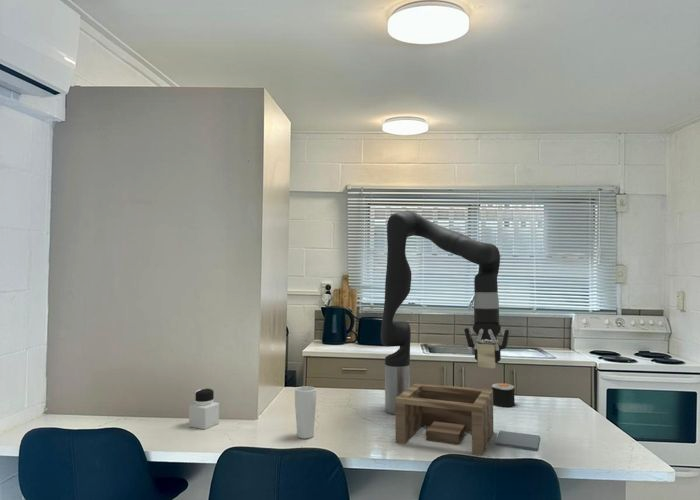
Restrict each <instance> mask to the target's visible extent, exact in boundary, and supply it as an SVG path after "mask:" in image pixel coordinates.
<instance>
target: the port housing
mask: <svg viewBox="0 0 700 500" xmlns="http://www.w3.org/2000/svg"><path fill="white" fill-rule="evenodd" d="M394 415H395V427H394V428H395V443H397V444H401V445H405V444H407V442H409V441H410V439H411V438H412V437H413V436H414V435H415V434H416V433H417V432H418V431H419V430H420V429H421V428H422V427H428V428H427V429H426V430H425V431H426V433H425V435H426V436H425V437H426V438H425V440H426V441H431V442H436V443H442V444H443V443H444V444H452V445H456V446H459V445H460V443H461V442H462V440H463V438H464V437H465V435H466V433H467V432H468V433H471V455H476V456H482V457H483V456H484V454H485V451H486V449H487V447H488V445H489V443H490V441H491V438H492V436H493V434H494V405H493V390H492V389H484V388H475V387H474V388H473V387H465V386H464V387H462V386H452V385H441V384H432V383H431V384H430V383H424V382H423V383H421V382H414V384H412V385H410V387H409V388H408V389H407V390H405V391H404V392H403V393H401V394H400V395H399V396H397V397H396V398H395V414H394Z"/></svg>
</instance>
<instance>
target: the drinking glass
mask: <svg viewBox="0 0 700 500" xmlns="http://www.w3.org/2000/svg"><path fill="white" fill-rule="evenodd" d="M316 406H317V389H316V387H314V386H311V385H310V386H306V385H305V386H299V387H296V388H295V390H294V408H295V420H296V436H297V438H300V439H303V440H305V439H307V440H308V439H311V438H312V437H314V435H315V419H316Z"/></svg>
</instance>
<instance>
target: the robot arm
mask: <svg viewBox="0 0 700 500" xmlns="http://www.w3.org/2000/svg"><path fill="white" fill-rule="evenodd" d="M412 236H416V237H422V238H425V239H426V240H429V241H431V242H432V243H433V244H434V245H435V246H437V247H438V248H439V249H442V250H443V251H445V252H447V253H450V254H451V255H452V254H453V255H456V256H458V257H461V258H463V259H464V260H467V261H469V262H470V263H472V264H475V265H478V272H477V274H476V275H475V276H474V279H473V281H474V285H473V286H474V293H473V295H474V296H473V316H474V318H473V321H474V322H473V323H474V324H473V326H472V327H471V326H470V327H466V328H464V333H465V339H466V342H467V346H468V347H469V348H472V349H473V350H474V359H475V360H476V362H477V363H478V353H477V344H480V343H481V342H483V341H484V340H487V341H491V343H493V344H495V349H496V351H495V363H497V364H498V363H499V362H500V361H501V359H502V357H501V355H502V354H501V351H502V350H505V349H506V348H507V346H508V341H509V338H510V334H511V329H509V328H507V329H506V328H503V327H501V324H500V304H499V303H500V300H499V293H498V289H499V288H498V276H499V272H500V271H499V269H500V264H501V253H500V250H499V248H498V247H497V245H495V244H492V243H487V242H483V241H480V240H479V241H478V240H476V239H472V238H471V237H470V236H468V235H465V234H462V233H460V232H458V231H454V230H451V229H448V228H446V227H445V226H444V227H443V226H441V225H439V224H437V223H435V222H432V221H431V220H429V219H427V218H425V217H424V216H422V215H421V214H419V213H416V212H414V211H413V210H402V211H399V212H394V213H393V214H391V215H389V218H388V220H387V222H386V239H387V242H386V244H387V245H386V246H387V252H386V253H387V254H386V271H385V284H384V285H385V286H384V304H383V312H382V313H383V314H382V320H381V326H380V328H381V329H380V341H381V342H380V343H381V345H382V346H384V347H399V348H398V349H397V350H396V351H395V352H393V353H390V354H388V355H387V356H385V358H384V410H385V411H384V412H386V413H388V414H391V415H395V398H396V397H397V396H399V395H400V394H401V393H403V392H404V391H405V390H407V389H408V388H409V387H411V379H410V378H411V377H410V375H411V374H410V373H411V372H410V368H411V366H410V359H411V337H412V336H411V333H412V332H411V325H410V323H409V322H407V321H404V320H403V321H401V320H400V321H396V320H394V321H393V319H394V317H395V314H396V312H397V311H398V310H399V308H400V306H401V305H402V304H403V303H404V301H405V300H406V299H407V298H408V296H409V294H410V292H411V287H412V271H411V266H410V263H409V261H408V259H407V255H406V245H407V239H408V238H409V237H412ZM500 332H501V336H503V339H502V342H501V344H500V342H499V337H498V335H499V334H500ZM473 333H475V334H476V336H477V337H476V340H475V343H474V340H473V337H472V335H473Z"/></svg>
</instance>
